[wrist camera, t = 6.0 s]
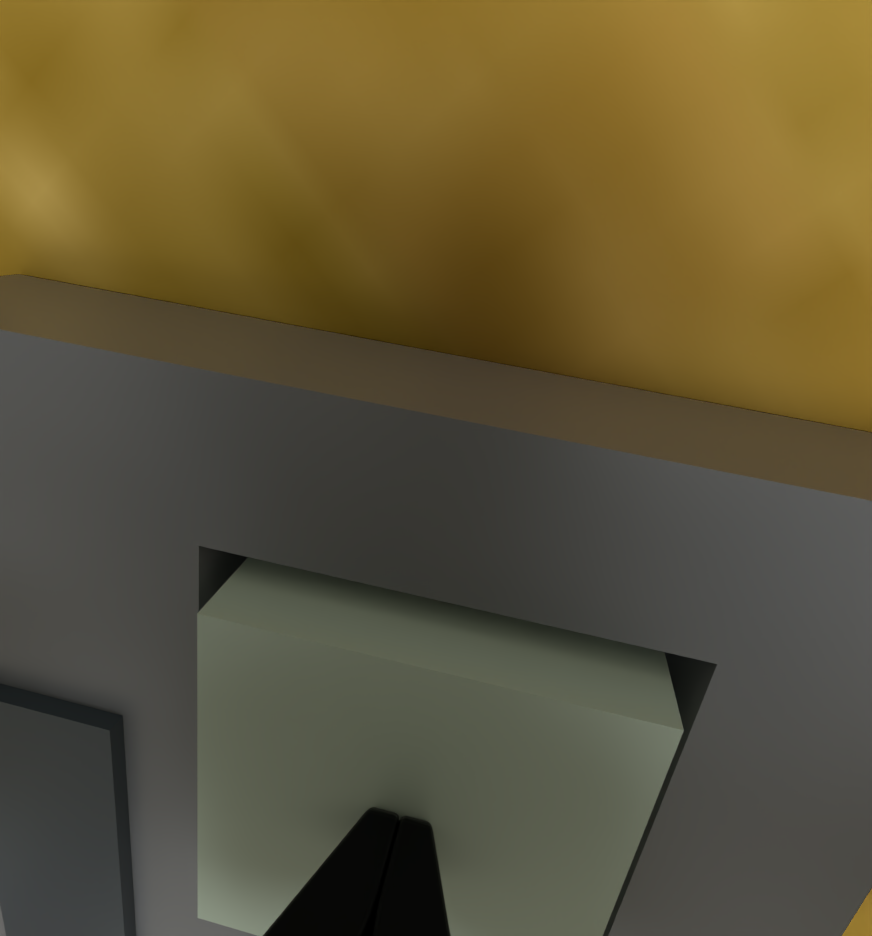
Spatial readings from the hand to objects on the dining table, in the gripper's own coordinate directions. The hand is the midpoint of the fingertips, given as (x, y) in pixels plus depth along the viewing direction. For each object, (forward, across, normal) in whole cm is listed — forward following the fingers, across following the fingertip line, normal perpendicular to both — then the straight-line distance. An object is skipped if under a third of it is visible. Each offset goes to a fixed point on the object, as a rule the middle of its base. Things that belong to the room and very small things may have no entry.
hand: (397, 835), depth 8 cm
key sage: (+2, 0, 0) cm, 2 cm away
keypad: (+4, +1, +9) cm, 10 cm away
